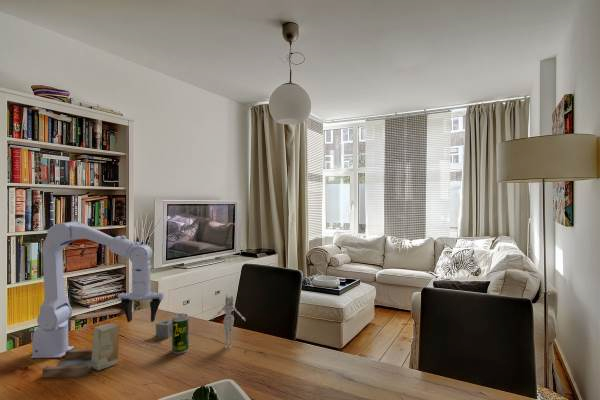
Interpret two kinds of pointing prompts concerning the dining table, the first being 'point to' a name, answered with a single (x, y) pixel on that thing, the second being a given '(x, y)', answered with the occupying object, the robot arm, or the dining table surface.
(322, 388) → the dining table surface
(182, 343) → the beer can
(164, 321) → the dice cube
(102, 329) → the skincare box
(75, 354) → the u rest
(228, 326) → the human figurine
